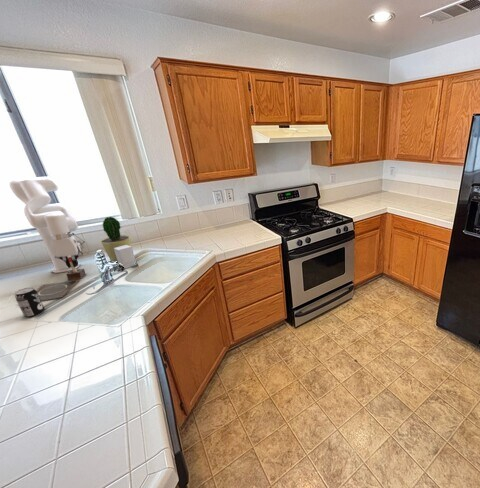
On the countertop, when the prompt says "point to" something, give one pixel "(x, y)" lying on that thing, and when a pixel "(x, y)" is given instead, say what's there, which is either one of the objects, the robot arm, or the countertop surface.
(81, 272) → the pen holder
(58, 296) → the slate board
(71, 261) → the marker
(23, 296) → the beverage can
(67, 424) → the countertop surface
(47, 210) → the robot arm
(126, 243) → the potted cactus
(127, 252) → the white packaging box
